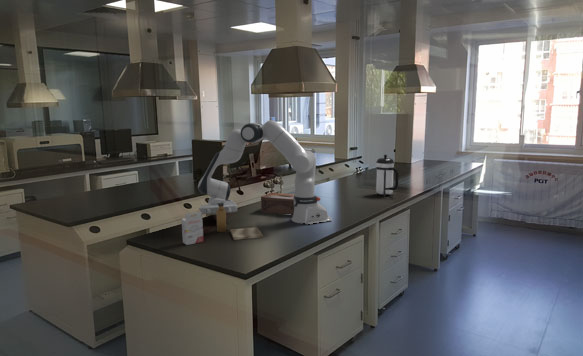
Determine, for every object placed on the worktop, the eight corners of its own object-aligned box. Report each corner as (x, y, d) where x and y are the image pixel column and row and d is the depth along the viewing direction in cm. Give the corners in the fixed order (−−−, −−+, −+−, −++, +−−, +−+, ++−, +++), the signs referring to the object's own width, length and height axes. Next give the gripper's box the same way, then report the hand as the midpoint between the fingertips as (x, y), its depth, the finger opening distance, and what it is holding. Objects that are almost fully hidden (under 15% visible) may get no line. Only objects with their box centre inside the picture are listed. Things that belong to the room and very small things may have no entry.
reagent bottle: (225, 229, 210) (225, 201, 208) (227, 231, 206) (226, 203, 203) (216, 229, 209) (215, 202, 207) (217, 232, 204) (216, 204, 202)
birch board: (257, 229, 209) (257, 227, 209) (262, 237, 196) (262, 234, 196) (230, 231, 206) (230, 229, 205) (233, 239, 192) (233, 237, 192)
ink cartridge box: (199, 239, 194) (198, 209, 191) (203, 241, 190) (202, 211, 187) (182, 242, 189) (180, 212, 186) (186, 245, 185) (184, 214, 182)
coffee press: (372, 196, 291) (373, 155, 286) (374, 192, 306) (376, 153, 301) (397, 197, 286) (399, 156, 281) (398, 193, 301) (399, 153, 296)
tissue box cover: (261, 212, 246) (260, 196, 245) (271, 207, 260) (271, 192, 258) (300, 216, 236) (300, 199, 235) (308, 211, 250) (308, 195, 248)
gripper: (198, 202, 225) (199, 207, 211) (234, 199, 230) (238, 204, 217) (198, 213, 226) (200, 219, 212) (235, 210, 231) (238, 216, 218)
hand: (219, 212), depth 215 cm, fingers open, 8 cm apart
